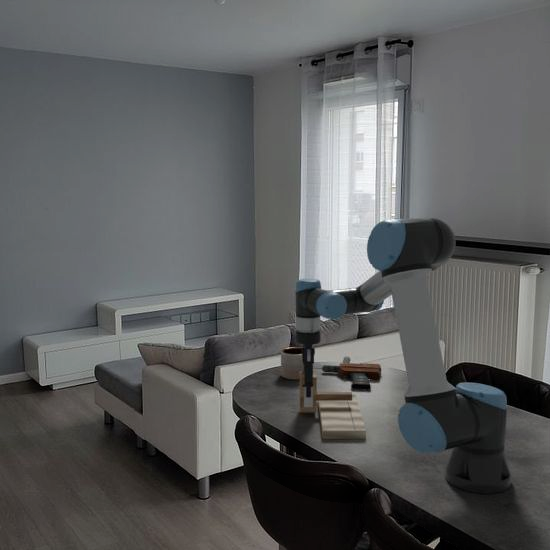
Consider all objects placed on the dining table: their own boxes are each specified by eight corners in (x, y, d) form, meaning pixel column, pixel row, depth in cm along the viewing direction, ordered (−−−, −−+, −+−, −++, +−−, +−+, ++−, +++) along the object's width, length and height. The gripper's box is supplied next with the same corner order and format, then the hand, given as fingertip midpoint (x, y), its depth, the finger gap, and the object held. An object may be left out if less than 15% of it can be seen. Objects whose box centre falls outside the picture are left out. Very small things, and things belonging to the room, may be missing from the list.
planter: (278, 379, 233) (278, 354, 232) (283, 371, 244) (283, 346, 242) (308, 381, 232) (308, 355, 230) (311, 372, 242) (311, 347, 241)
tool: (379, 383, 220) (382, 355, 249) (301, 379, 225) (312, 352, 254) (379, 394, 221) (381, 365, 249) (301, 390, 226) (312, 362, 254)
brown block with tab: (352, 412, 196) (353, 377, 194) (300, 412, 196) (300, 377, 195) (350, 405, 202) (351, 371, 200) (299, 405, 202) (299, 371, 201)
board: (365, 439, 180) (366, 430, 180) (322, 438, 180) (322, 430, 180) (355, 402, 210) (355, 394, 209) (318, 402, 210) (318, 394, 209)
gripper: (322, 337, 186) (321, 414, 190) (319, 322, 205) (318, 392, 208) (296, 337, 186) (296, 414, 190) (295, 322, 205) (295, 392, 209)
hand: (308, 402), depth 199 cm, fingers closed on brown block with tab, 6 cm apart
